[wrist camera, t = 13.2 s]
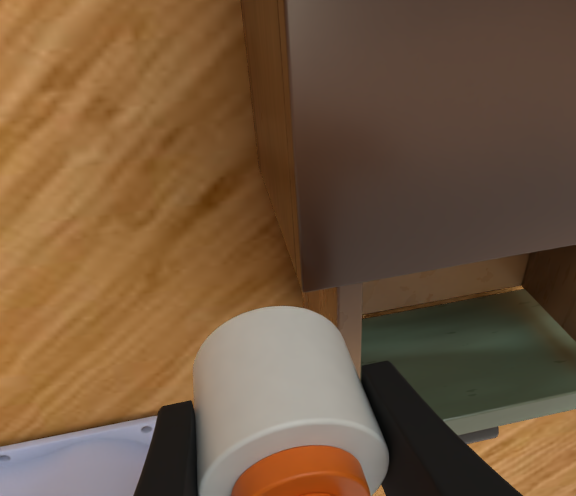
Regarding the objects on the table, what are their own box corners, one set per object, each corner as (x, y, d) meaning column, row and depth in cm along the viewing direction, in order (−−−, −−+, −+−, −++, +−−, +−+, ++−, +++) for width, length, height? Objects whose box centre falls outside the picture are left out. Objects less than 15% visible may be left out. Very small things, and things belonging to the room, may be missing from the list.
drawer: (506, 367, 28) (581, 466, 23) (297, 410, 26) (327, 527, 21) (601, 23, 17) (776, 62, 12) (267, 61, 16) (311, 124, 11)
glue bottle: (207, 426, 13) (219, 621, 9) (178, 321, 11) (179, 521, 7) (345, 397, 13) (408, 572, 10) (344, 290, 11) (423, 464, 8)
